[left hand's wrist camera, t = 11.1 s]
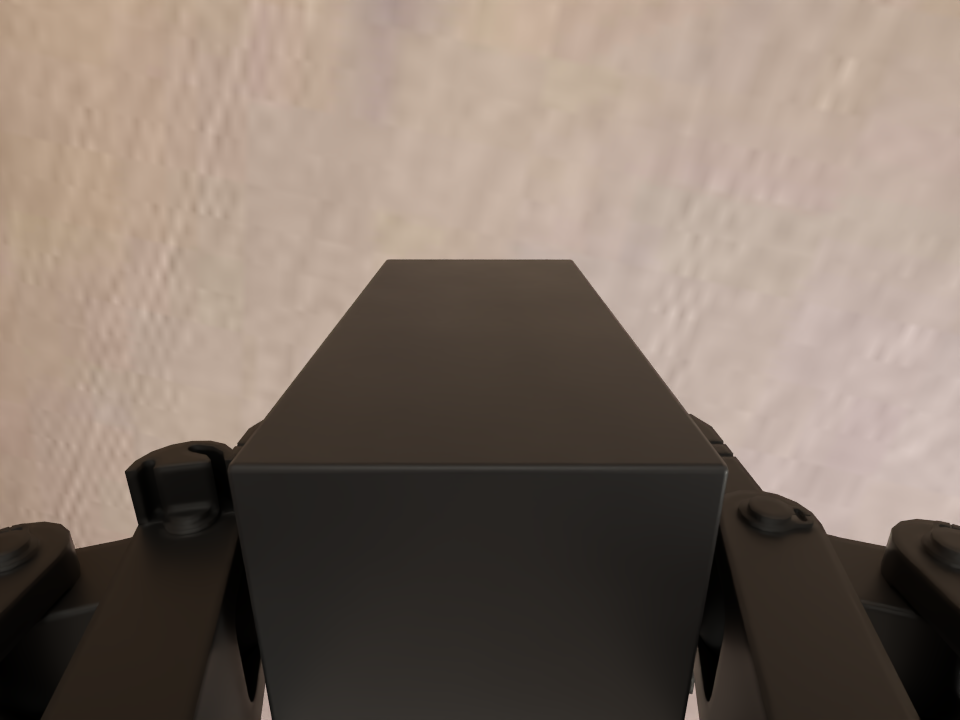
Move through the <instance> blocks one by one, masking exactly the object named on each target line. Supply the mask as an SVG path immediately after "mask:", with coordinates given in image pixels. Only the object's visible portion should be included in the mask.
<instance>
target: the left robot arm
mask: <svg viewBox="0 0 960 720" xmlns="http://www.w3.org/2000/svg"><path fill="white" fill-rule="evenodd" d="M689 415H690V417H691V418H692V419H693V421H694V422H695V423H696V425H697V426H698V427H699V429H700V430H701V431H702V433H703V434H704V435H705V437H706V438H707V439H708V441H709V442H710V443H711V444H712V446H713V447H714V448H715V450H716V451H717V452H718V454H719V455H720V456H721V458H722V459H723V460H724V462H725V463H726V464H727V467H728V478H727V484H726V489H725V495H724V500H723V506H722V512H721V517H720V523H719V528H718V534H717V540H716V545H715V551H714V556H713V562H712V568H711V573H710V579H709V584H708V590H707V596H706V601H705V607H704V612H703V618H702V624H701V629H700V635H699V640H698V646H697V651H696V657H695V663H694V668H693V674H692V679H691V685H690V691H689V694H692V693H693V688H694V682H695V688H696V696H697V704H698V711H699V719H700V720H960V526H958V525H954V524H952V525H950V523H946V522H941V521H931V520H922V519H913V520H907V521H901V522H899V523H898V524H897V525H896V526H894V527H893V528H892V530H891V533H890V536H889V539H888V543H887V546H880V545H875V544H870V543H865V542H860V541H855V540H850V539H845V538H840V537H836V536H832V535H828V534H826V532H825V530H824V528H823V526H822V524H821V523H820V522H819V520H818V519H817V518H816V517H815V516H814V514H813V513H812V512H810V511H809V510H807V509H806V508H804V507H803V506H801V505H800V504H798V503H797V502H795V501H792V500H790V499H787V498H785V497H783V496H780V495H778V494H773V493H768V492H764V491H762V489H761V488H760V487H759V486H758V484H757V483H756V482H755V481H754V479H753V478H752V477H751V475H750V474H749V473H748V472H747V470H746V469H745V468H744V467H743V465H742V464H741V463H740V462H739V460H738V459H737V458H736V457H733V453H732V452H731V450H730V449H729V448H728V447H727V445H726V444H723V440H722V439H721V438H720V436H719V435H718V434H717V433H716V431H715V430H714V429H713V428H712V427H711V426H710V425H708V424H706V423H705V422H703V421H702V420H700V419H698V418H697V417H695V416H693V415H692V414H689ZM262 421H263V420H262ZM262 421H261V422H262ZM261 422H259V423H257V424H256V425H254V426H253V427H251V428H249V429H248V431H247V432H246V433H245V434H244V436H243V437H242V438H241V439H240V441H239V442H238V443H237V444H238V445H237V446H235V447H234V448H233V450H232V449H231V448H230V447H228V446H227V445H226V444H223V443H218V442H214V441H190V442H184V443H179V444H173V445H170V446H167V447H164V448H161V449H158V450H155V451H152V452H150V453H149V454H147V455H145V456H143V457H141V458H140V459H138V460H136V461H135V462H134V463H133V464H132V465H131V466H130V467H129V468H128V469H127V470H126V471H125V475H126V478H127V482H128V486H129V490H130V494H131V498H132V502H133V506H134V509H135V513H136V517H137V521H138V527H137V529H136V531H135V533H134V535H133V537H131V538H127V539H123V540H119V541H114V542H109V543H104V544H99V545H94V546H88V547H83V548H78V549H75V547H74V544H73V541H72V538H71V534H70V531H69V530H68V529H66V528H65V527H64V526H62V525H61V524H57V523H50V522H36V523H27V524H19V525H14V526H12V527H10V528H9V527H6V528H3V529H0V720H261V713H262V705H263V697H264V689H265V678H264V672H263V666H262V661H261V655H260V650H259V644H258V639H257V633H256V628H255V622H254V616H253V611H252V605H251V600H250V594H249V589H248V583H247V578H246V572H245V566H244V561H243V555H242V550H241V544H240V539H239V533H238V528H237V522H236V516H235V511H234V505H233V500H232V494H231V489H230V483H229V477H228V467H229V464H230V463H231V461H232V460H233V459H234V457H235V456H236V455H237V454H238V452H239V451H240V450H241V448H242V447H243V446H244V445H245V443H246V442H247V441H248V439H249V438H250V437H251V435H252V434H253V433H254V432H255V430H256V429H257V428H258V426H259V425H260V424H261Z"/></svg>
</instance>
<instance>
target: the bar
mask: <svg viewBox="0 0 960 720" xmlns="http://www.w3.org/2000/svg"><path fill="white" fill-rule="evenodd" d="M228 477H229V483H230V489H231V494H232V500H233V505H234V511H235V516H236V522H237V528H238V533H239V539H240V544H241V550H242V555H243V561H244V566H245V572H246V578H247V583H248V589H249V594H250V600H251V605H252V611H253V616H254V622H255V628H256V633H257V639H258V644H259V650H260V655H261V661H262V666H263V672H264V678H265V683H266V689H267V694H268V700H269V705H270V711H271V717H272V720H684V719H685V713H686V707H687V702H688V696H689V691H690V685H691V679H692V674H693V668H694V663H695V657H696V651H697V646H698V640H699V635H700V629H701V624H702V618H703V612H704V607H705V601H706V596H707V590H708V584H709V579H710V573H711V568H712V562H713V556H714V551H715V545H716V540H717V534H718V528H719V523H720V517H721V512H722V506H723V500H724V495H725V489H726V484H727V478H728V467H727V464H726V463H725V462H724V460H723V459H722V458H721V456H720V455H719V454H718V452H717V451H716V450H715V448H714V447H713V446H712V444H711V443H710V442H709V441H708V439H707V438H706V437H705V435H704V434H703V433H702V431H701V430H700V429H699V427H698V426H697V425H696V423H695V422H694V421H693V419H692V418H691V417H690V415H689V414H688V413H687V411H686V410H685V409H684V407H683V406H682V405H681V403H680V402H679V401H678V399H677V398H676V397H675V396H674V394H673V393H672V392H671V390H670V389H669V388H668V386H667V385H666V384H665V382H664V381H663V380H662V378H661V377H660V376H659V374H658V373H657V372H656V370H655V369H654V368H653V366H652V365H651V364H650V362H649V361H648V360H647V358H646V357H645V356H644V354H643V353H642V352H641V351H640V349H639V348H638V347H637V345H636V344H635V343H634V341H633V340H632V339H631V337H630V336H629V335H628V333H627V332H626V331H625V329H624V328H623V327H622V325H621V324H620V323H619V321H618V320H617V319H616V317H615V316H614V315H613V313H612V312H611V311H610V310H609V308H608V307H607V306H606V304H605V303H604V302H603V300H602V299H601V298H600V296H599V295H598V294H597V292H596V291H595V290H594V288H593V287H592V286H591V284H590V283H589V282H588V280H587V279H586V278H585V276H584V275H583V274H582V272H581V271H580V270H579V268H578V267H577V266H576V265H575V263H574V262H573V261H572V260H386V262H385V263H384V264H383V265H382V267H381V268H380V269H379V271H378V272H377V273H376V275H375V276H374V277H373V278H372V280H371V281H370V282H369V284H368V285H367V286H366V288H365V289H364V290H363V291H362V293H361V294H360V295H359V297H358V298H357V299H356V300H355V302H354V303H353V304H352V306H351V307H350V308H349V310H348V311H347V312H346V313H345V315H344V316H343V317H342V319H341V320H340V321H339V323H338V324H337V325H336V326H335V328H334V329H333V330H332V332H331V333H330V334H329V336H328V337H327V338H326V339H325V341H324V342H323V343H322V345H321V346H320V347H319V349H318V350H317V351H316V352H315V354H314V355H313V356H312V358H311V359H310V360H309V361H308V363H307V364H306V365H305V367H304V368H303V369H302V371H301V372H300V373H299V374H298V376H297V377H296V378H295V380H294V381H293V382H292V384H291V385H290V386H289V387H288V389H287V390H286V391H285V393H284V394H283V395H282V397H281V398H280V399H279V400H278V402H277V403H276V404H275V406H274V407H273V408H272V409H271V411H270V412H269V413H268V415H267V416H266V417H265V419H264V420H263V421H262V422H261V424H260V425H259V426H258V428H257V429H256V430H255V432H254V433H253V434H252V435H251V437H250V438H249V439H248V441H247V442H246V443H245V445H244V446H243V447H242V448H241V450H240V451H239V452H238V454H237V455H236V456H235V457H234V459H233V460H232V461H231V463H230V464H229V467H228Z"/></svg>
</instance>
